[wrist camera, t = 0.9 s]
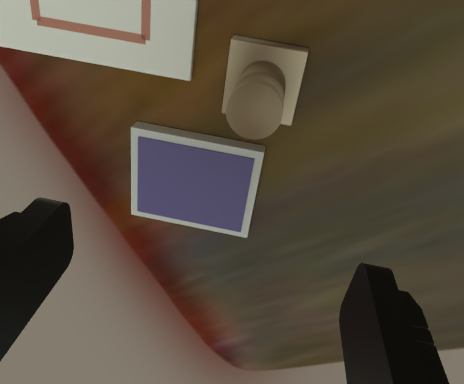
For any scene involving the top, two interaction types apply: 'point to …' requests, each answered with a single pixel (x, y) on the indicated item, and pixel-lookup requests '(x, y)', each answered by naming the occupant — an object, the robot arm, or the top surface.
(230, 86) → the stamp
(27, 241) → the robot arm
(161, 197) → the ink pad
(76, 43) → the sheet
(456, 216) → the top surface
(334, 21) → the top surface
